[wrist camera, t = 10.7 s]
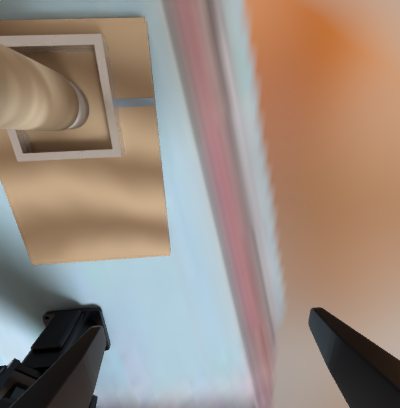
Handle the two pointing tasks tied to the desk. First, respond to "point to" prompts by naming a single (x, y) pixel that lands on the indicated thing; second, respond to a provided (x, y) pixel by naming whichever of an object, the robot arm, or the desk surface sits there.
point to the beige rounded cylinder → (37, 96)
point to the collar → (101, 48)
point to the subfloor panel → (92, 167)
